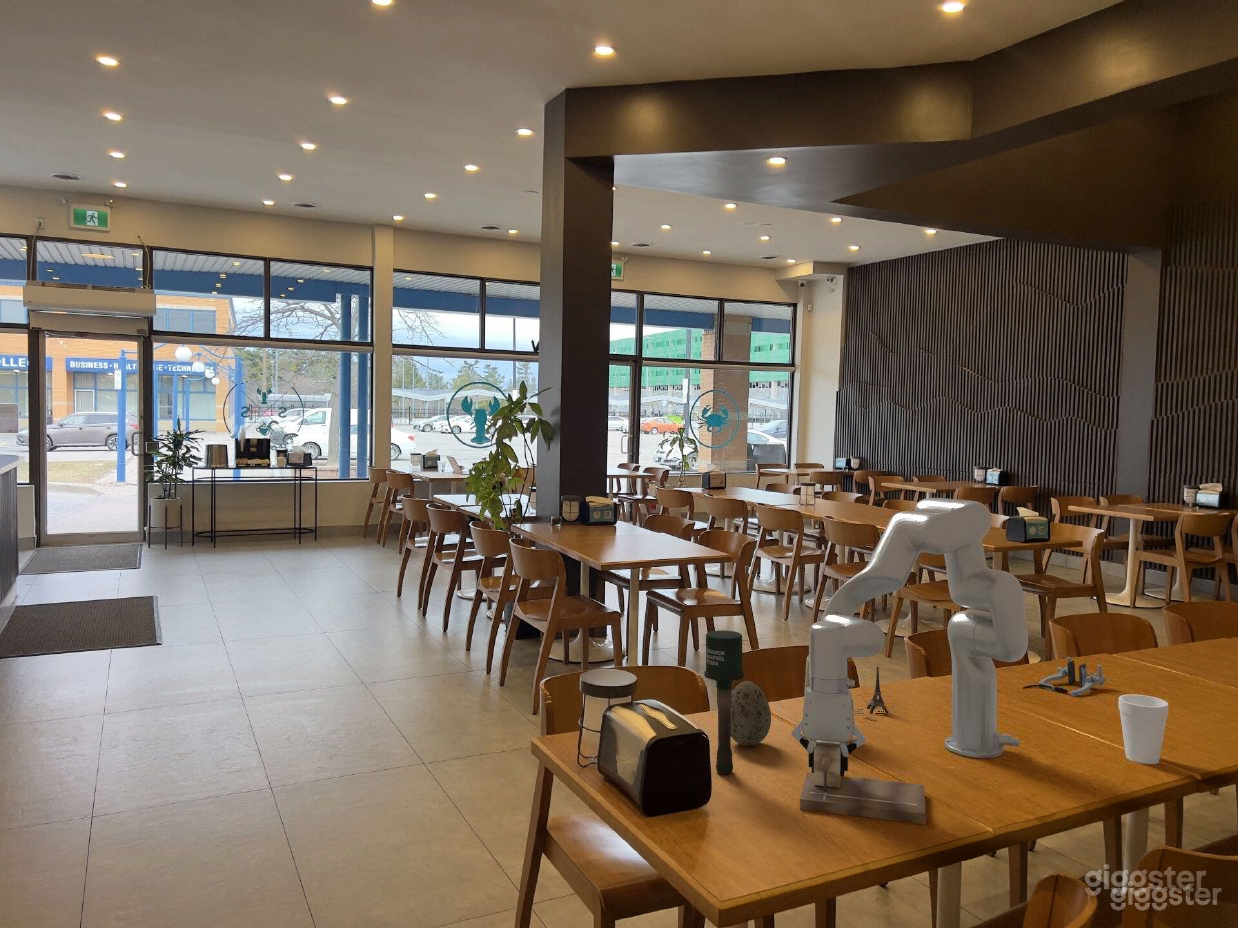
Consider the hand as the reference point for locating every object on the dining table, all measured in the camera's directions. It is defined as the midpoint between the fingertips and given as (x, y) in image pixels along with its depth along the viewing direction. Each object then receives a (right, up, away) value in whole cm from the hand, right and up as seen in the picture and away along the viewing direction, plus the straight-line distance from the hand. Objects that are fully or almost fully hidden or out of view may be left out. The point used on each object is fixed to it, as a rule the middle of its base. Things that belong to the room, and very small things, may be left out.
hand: (828, 771), depth 178 cm
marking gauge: (-1, -3, -2) cm, 4 cm away
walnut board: (+6, -4, -5) cm, 9 cm away
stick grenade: (-20, -4, +10) cm, 23 cm away
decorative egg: (-12, -3, +27) cm, 30 cm away
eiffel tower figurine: (+25, -3, +51) cm, 56 cm away
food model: (+6, -3, +33) cm, 34 cm away
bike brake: (+83, -1, +68) cm, 108 cm away
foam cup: (+73, -3, +16) cm, 75 cm away
